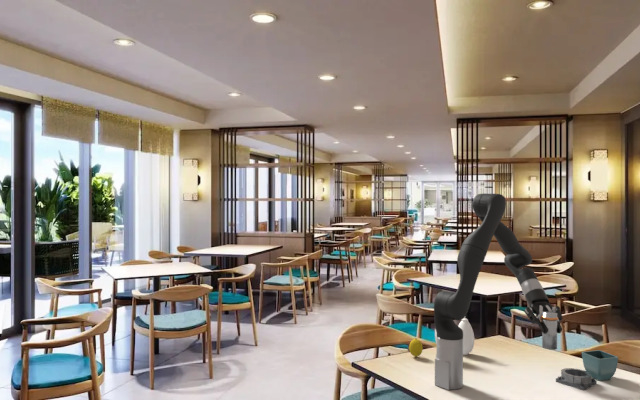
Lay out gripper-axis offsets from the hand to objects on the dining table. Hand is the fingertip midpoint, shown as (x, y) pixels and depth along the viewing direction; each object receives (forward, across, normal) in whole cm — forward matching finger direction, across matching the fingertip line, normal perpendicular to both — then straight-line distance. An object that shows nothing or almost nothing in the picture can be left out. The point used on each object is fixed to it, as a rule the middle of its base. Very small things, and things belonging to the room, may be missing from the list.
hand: (553, 332), depth 178 cm
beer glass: (-8, -30, +35) cm, 46 cm away
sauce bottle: (-11, -18, +38) cm, 43 cm away
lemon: (-11, -40, +37) cm, 56 cm away
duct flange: (+14, +8, +12) cm, 20 cm away
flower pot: (+12, +20, +14) cm, 28 cm away
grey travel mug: (+3, 0, +6) cm, 6 cm away
